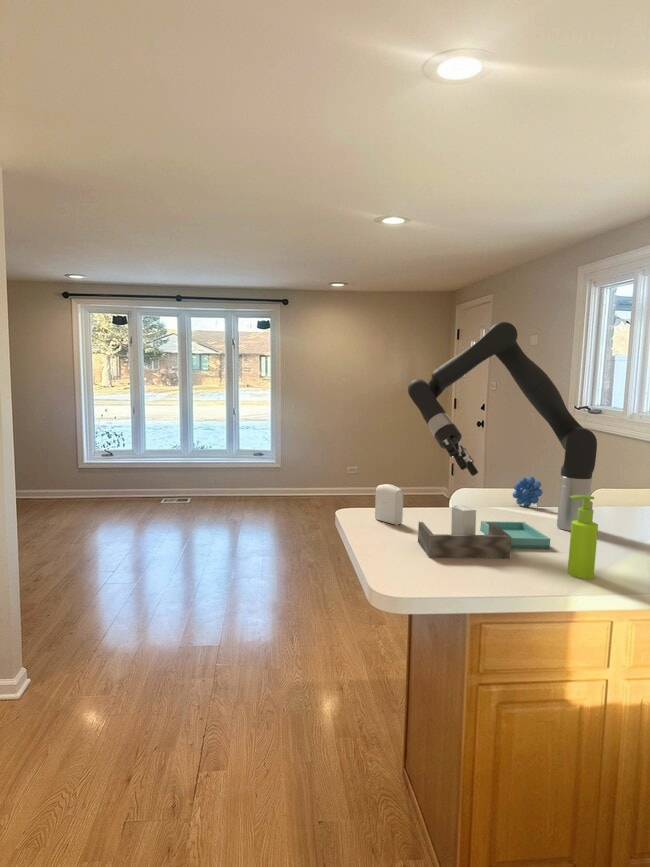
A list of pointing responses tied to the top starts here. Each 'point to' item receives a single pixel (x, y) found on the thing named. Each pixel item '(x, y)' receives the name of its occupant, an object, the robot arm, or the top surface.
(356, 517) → the top surface
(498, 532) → the bay
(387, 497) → the photo printer
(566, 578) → the top surface
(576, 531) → the soap dispenser
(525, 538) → the tray
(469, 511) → the skincare box
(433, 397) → the robot arm
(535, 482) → the blue knobbly flower shape
